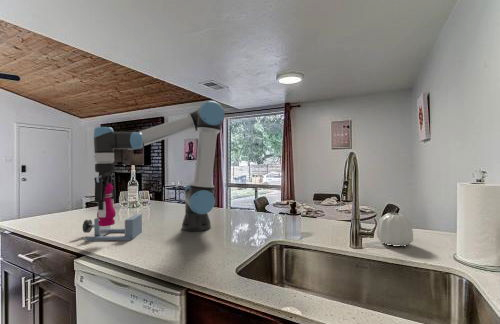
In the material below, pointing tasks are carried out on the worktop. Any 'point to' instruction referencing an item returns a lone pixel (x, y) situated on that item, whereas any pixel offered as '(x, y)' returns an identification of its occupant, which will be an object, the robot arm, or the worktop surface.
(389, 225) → the white pumpkin
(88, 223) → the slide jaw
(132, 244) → the worktop surface
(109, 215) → the pepper mill
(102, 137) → the robot arm
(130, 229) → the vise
